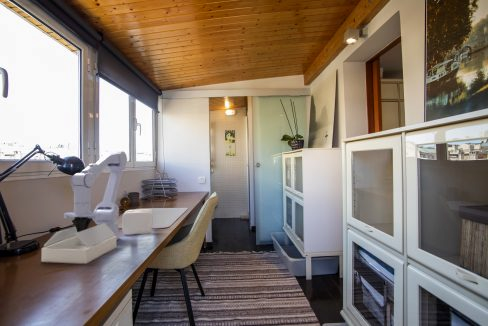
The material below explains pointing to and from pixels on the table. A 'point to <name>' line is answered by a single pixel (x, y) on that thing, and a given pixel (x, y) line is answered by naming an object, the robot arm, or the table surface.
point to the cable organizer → (137, 221)
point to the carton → (76, 251)
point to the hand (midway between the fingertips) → (82, 235)
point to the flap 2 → (95, 235)
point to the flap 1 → (61, 235)
